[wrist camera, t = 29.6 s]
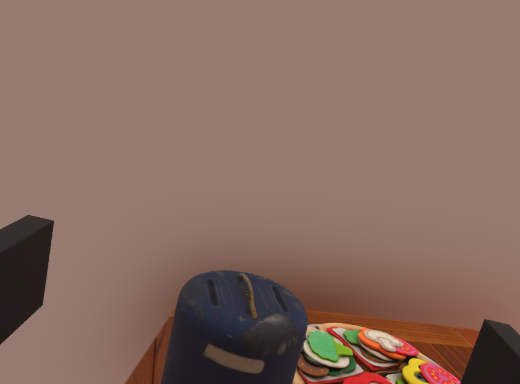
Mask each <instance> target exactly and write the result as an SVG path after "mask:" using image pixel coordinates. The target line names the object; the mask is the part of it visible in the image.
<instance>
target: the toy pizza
mask: <svg viewBox="0 0 520 384" xmlns="http://www.w3.org/2000/svg"><path fill="white" fill-rule="evenodd" d="M460 383H461V382H460V381H459V380H458V379H457V378H456V377H454V376H453V375H452V374H450V373H449V372H447V371H445V370H444V369H443V368H442V367H440V366H439V365H438V364H436V363H435V362H433V361H432V360H431V359H429V358H427V357H426V356H424V355H423V354H421V353H420V352H418V350H417V349H415V348H414V347H413V346H411V345H410V344H408V343H407V342H405V341H403V340H401V339H399V338H397V337H395V336H392V335H389V334H387V333H384V332H381V331H376V330H371V329H368V328H364V327H359V326H354V325H350V324H339V323H325V324H314V325H308V326H307V332H306V336H305V339H304V343H303V346H302V350H301V354H300V357H299V361H298V365H297V369H296V372H295V376H294V380H293V383H292V384H460Z"/></svg>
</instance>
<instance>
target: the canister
mask: <svg viewBox="0 0 520 384" xmlns="http://www.w3.org/2000/svg"><path fill="white" fill-rule="evenodd" d="M307 326H308V318H307V313H306V310H305V308H304V306H303V304H302V303H301V301H300V300H299V299H298V298H297V297H296V296H295V295H294V294H293V293H292V292H290V291H289V290H287V289H286V288H285V287H283V286H281V285H280V284H278V283H276V282H273V281H271V280H269V279H266V278H264V277H261V276H258V275H254V274H250V273H245V272H239V271H225V270H224V271H211V272H207V273H203V274H199V275H197V276H195V277H193V278H192V279H190V280H189V281H188V282H187V283H186V284H185V285H184V286H183V288H182V290H181V292H180V294H179V298H178V302H177V306H176V310H175V316H174V322H173V327H172V332H171V337H170V342H169V347H168V352H167V357H166V362H165V367H164V372H163V376H162V381H161V384H292V383H293V380H294V376H295V372H296V369H297V365H298V361H299V357H300V354H301V350H302V346H303V343H304V339H305V336H306V332H307Z"/></svg>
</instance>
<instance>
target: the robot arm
mask: <svg viewBox="0 0 520 384" xmlns="http://www.w3.org/2000/svg"><path fill="white" fill-rule="evenodd" d="M53 225H54V221H53V220H48V219H44V218H40V217H35V216H30V215H27V216H25V217H23V218H21V219H20V220H18V221H16V222H14V223H12V224H10V225H8V226H6V227H4V228H2V229H0V344H1V343H2V342H4V341H5V340H6V339H7V338H8V337H9V336H10V335H11V334H12V333H13V332H14V331H15V330H16V329H17V328H19V327H20V326H21V325H22V324H23V323H24V322H25V321H26V320H27V319H28V318H29V317H30V316H31V315H32V314H33V313H34V312H36V310H38V309H39V308H40V307H41V306H42V305H43V299H44V291H45V284H46V277H47V269H48V262H49V254H50V247H51V240H52V232H53ZM460 384H520V335H519V334H518V333H517V332H516V331H515V330H514V329H513V328H512V327H511V326H510V325H508V324H503V323H499V322H495V321H491V320H486V319H485V320H484V322H483V325H482V328H481V330H480V333H479V335H478V338H477V341H476V343H475V346H474V349H473V351H472V354H471V357H470V359H469V362H468V365H467V367H466V370H465V373H464V375H463V378H462V381H461V383H460Z"/></svg>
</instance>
